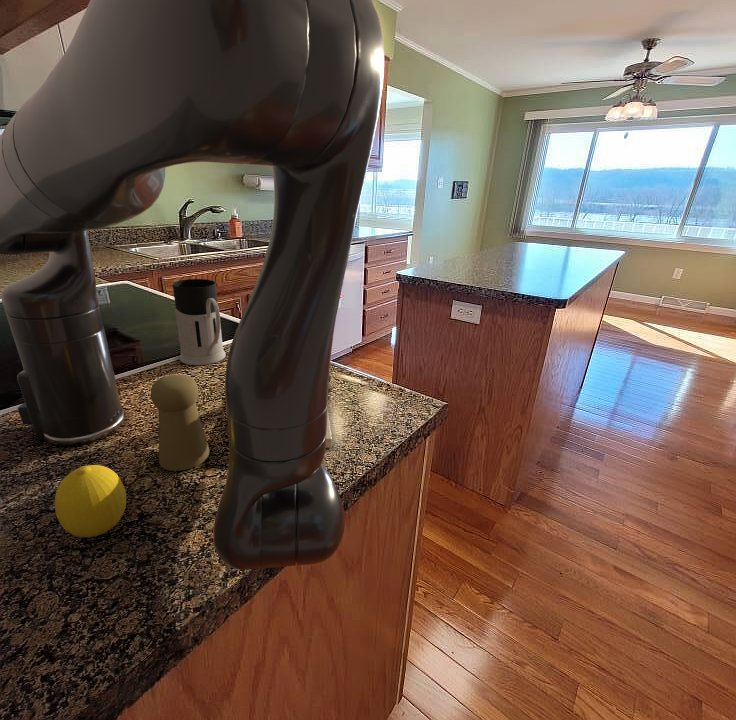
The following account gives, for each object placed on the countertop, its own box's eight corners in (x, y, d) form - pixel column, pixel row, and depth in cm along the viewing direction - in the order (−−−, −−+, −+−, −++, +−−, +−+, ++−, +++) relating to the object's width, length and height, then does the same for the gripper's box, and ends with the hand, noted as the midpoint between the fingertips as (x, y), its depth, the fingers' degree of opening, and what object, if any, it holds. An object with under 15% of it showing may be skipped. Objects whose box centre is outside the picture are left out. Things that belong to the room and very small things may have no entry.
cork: (154, 473, 48) (138, 393, 43) (163, 444, 53) (150, 370, 49) (207, 467, 49) (197, 389, 45) (211, 439, 55) (202, 367, 50)
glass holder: (215, 345, 86) (207, 276, 80) (245, 367, 77) (240, 291, 71) (173, 354, 81) (161, 281, 75) (200, 379, 71) (190, 297, 65)
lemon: (102, 561, 37) (83, 493, 33) (51, 549, 37) (28, 481, 34) (145, 517, 42) (131, 454, 38) (99, 507, 42) (82, 445, 39)
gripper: (340, 388, 48) (329, 338, 63) (225, 391, 45) (243, 339, 61) (338, 440, 51) (328, 380, 66) (231, 445, 48) (246, 382, 64)
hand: (287, 360), depth 64 cm, fingers closed
